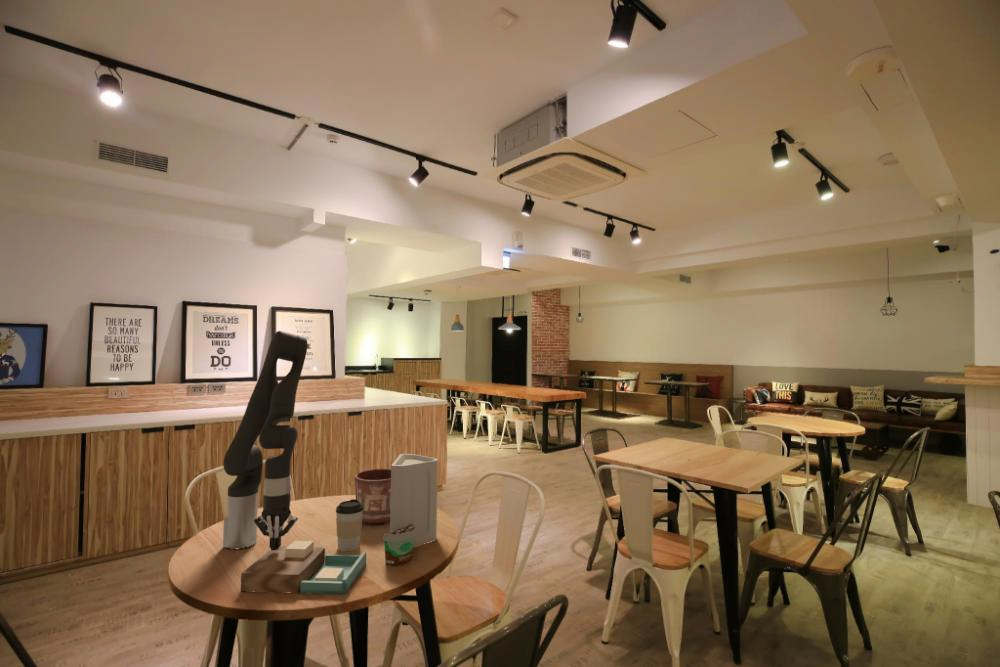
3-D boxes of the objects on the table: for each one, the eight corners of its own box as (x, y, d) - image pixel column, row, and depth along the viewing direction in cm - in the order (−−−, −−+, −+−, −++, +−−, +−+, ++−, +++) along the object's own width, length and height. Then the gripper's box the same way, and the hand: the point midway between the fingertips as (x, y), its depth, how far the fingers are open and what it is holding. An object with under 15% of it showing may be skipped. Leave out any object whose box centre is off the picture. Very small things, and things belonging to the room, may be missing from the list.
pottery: (347, 517, 187) (348, 472, 188) (388, 509, 198) (389, 466, 198) (362, 532, 173) (364, 482, 174) (406, 522, 183) (408, 475, 184)
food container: (396, 571, 142) (397, 538, 142) (382, 566, 145) (382, 533, 145) (423, 557, 152) (424, 525, 153) (409, 552, 155) (410, 521, 156)
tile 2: (336, 578, 130) (335, 587, 130) (343, 568, 136) (343, 577, 136) (314, 577, 130) (314, 586, 130) (323, 567, 136) (323, 576, 136)
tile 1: (284, 557, 139) (285, 548, 139) (294, 548, 145) (294, 540, 145) (304, 557, 139) (305, 549, 139) (313, 549, 145) (313, 541, 145)
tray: (300, 593, 128) (300, 578, 128) (326, 564, 146) (326, 550, 146) (345, 594, 128) (345, 579, 128) (366, 565, 146) (366, 551, 146)
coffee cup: (354, 553, 154) (355, 507, 154) (329, 551, 156) (330, 505, 156) (367, 543, 163) (368, 499, 163) (343, 540, 164) (344, 497, 165)
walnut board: (240, 591, 129) (241, 573, 129) (273, 562, 147) (274, 546, 147) (298, 593, 128) (298, 574, 128) (324, 564, 146) (325, 547, 146)
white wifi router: (433, 550, 157) (435, 466, 159) (388, 550, 157) (390, 465, 158) (438, 529, 176) (440, 453, 178) (398, 529, 176) (400, 453, 177)
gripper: (248, 494, 140) (246, 554, 139) (292, 495, 139) (290, 555, 138) (262, 487, 147) (260, 543, 146) (303, 488, 147) (302, 544, 146)
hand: (275, 549), depth 142 cm, fingers closed
